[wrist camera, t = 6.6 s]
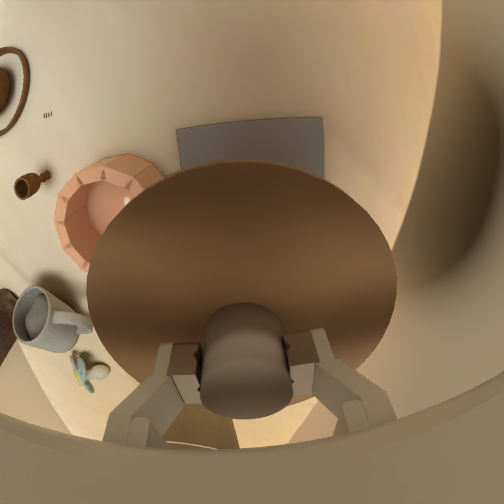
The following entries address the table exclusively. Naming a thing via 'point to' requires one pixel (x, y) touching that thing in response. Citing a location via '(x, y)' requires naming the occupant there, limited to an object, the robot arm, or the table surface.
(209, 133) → the mat
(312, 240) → the lid
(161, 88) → the table surface
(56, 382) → the table surface
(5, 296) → the brown textured cylinder
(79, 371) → the pacifier
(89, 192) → the bowl
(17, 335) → the ceramic mug
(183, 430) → the plant pot
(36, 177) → the place setting
